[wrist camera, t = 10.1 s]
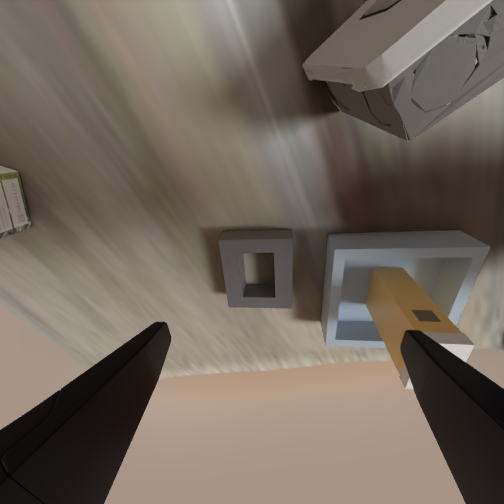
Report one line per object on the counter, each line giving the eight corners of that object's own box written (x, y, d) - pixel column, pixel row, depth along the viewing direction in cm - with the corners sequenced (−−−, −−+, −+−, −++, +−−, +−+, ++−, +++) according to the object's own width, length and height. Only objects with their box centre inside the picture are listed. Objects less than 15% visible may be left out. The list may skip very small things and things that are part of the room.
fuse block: (291, 229, 19) (292, 238, 18) (291, 294, 22) (292, 308, 21) (223, 231, 20) (218, 240, 18) (232, 294, 23) (228, 307, 22)
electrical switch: (463, -92, 11) (978, -631, 3) (488, 22, 13) (840, -122, 5) (298, 67, 14) (334, 12, 6) (337, 137, 16) (402, 161, 8)
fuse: (403, 267, 19) (474, 345, 12) (392, 305, 21) (449, 391, 14) (372, 267, 19) (423, 342, 12) (364, 304, 21) (405, 388, 14)
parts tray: (459, 230, 18) (490, 246, 15) (425, 324, 22) (444, 350, 20) (327, 233, 19) (334, 249, 16) (320, 321, 24) (325, 345, 21)
